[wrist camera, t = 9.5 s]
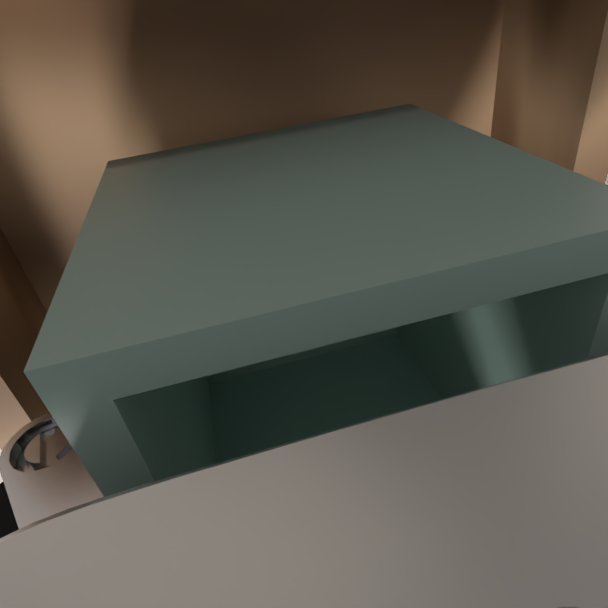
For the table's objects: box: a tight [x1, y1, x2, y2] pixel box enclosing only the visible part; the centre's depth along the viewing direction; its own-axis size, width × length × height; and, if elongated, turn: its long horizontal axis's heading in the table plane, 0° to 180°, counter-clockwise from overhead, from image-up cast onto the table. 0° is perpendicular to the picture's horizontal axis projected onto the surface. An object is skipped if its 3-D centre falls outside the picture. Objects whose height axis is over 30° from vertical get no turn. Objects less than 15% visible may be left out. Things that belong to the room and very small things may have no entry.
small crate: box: [24, 104, 608, 497], centre depth 10 cm, size 7×7×7 cm
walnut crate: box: [0, 0, 608, 450], centre depth 13 cm, size 16×16×4 cm
